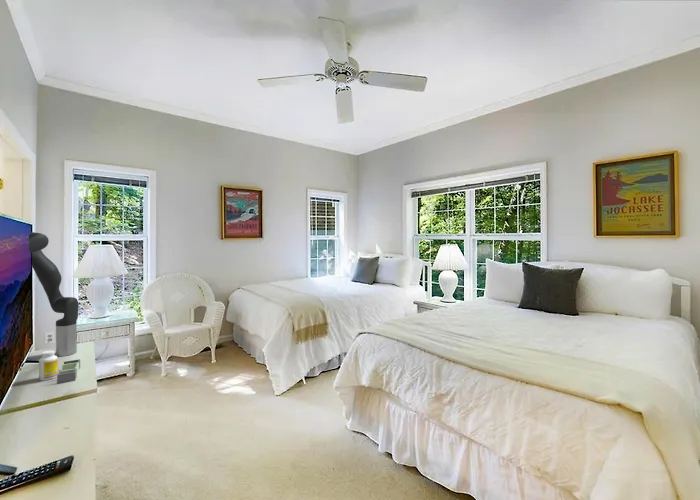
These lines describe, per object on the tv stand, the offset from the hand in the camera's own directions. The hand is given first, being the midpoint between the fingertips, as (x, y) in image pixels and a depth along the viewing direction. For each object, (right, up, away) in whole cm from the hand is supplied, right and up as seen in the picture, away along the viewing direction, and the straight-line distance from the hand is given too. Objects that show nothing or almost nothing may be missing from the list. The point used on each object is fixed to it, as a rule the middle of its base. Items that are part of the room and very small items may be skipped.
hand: (25, 324), depth 157 cm
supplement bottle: (+10, -27, +2) cm, 28 cm away
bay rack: (+16, -26, +6) cm, 32 cm away
